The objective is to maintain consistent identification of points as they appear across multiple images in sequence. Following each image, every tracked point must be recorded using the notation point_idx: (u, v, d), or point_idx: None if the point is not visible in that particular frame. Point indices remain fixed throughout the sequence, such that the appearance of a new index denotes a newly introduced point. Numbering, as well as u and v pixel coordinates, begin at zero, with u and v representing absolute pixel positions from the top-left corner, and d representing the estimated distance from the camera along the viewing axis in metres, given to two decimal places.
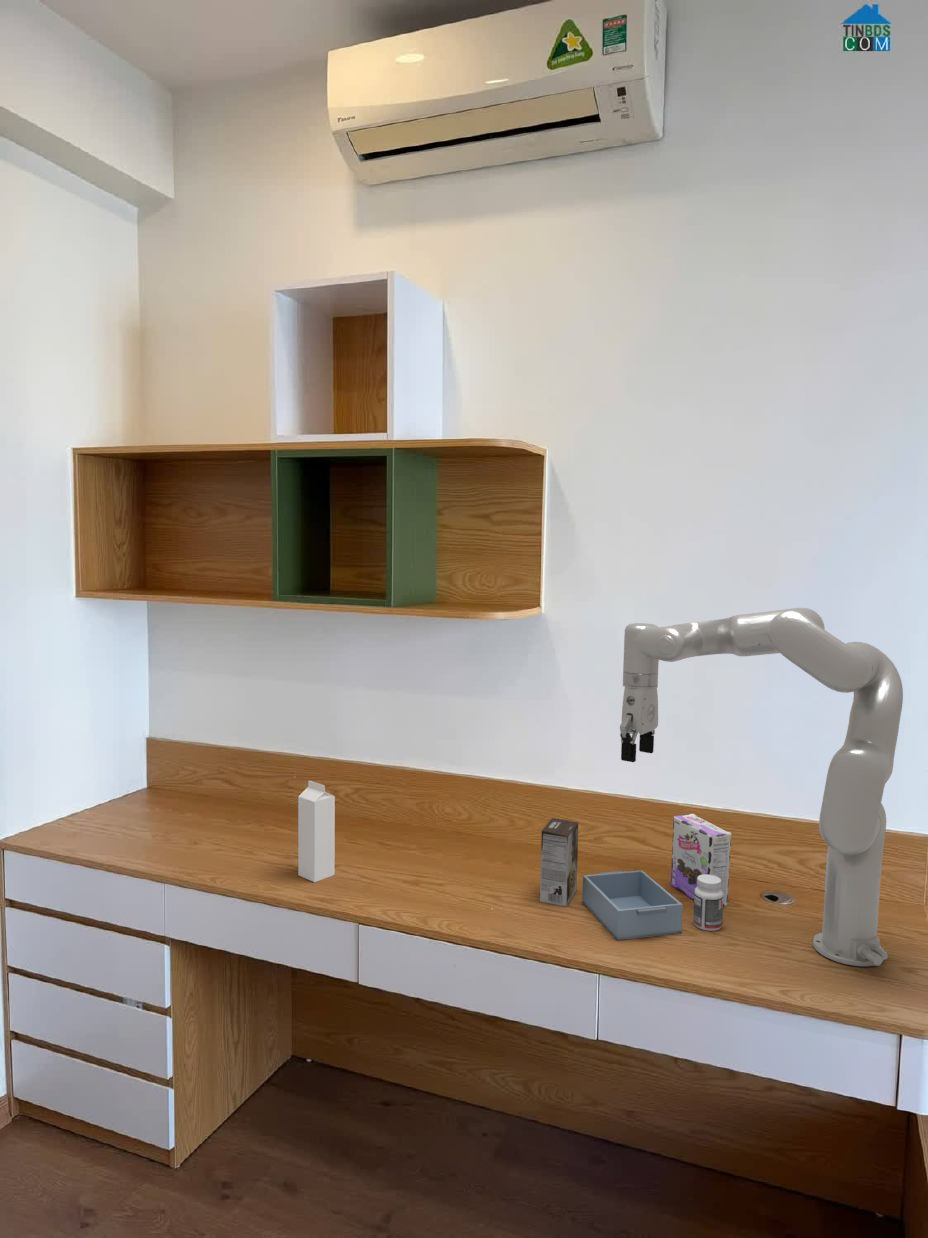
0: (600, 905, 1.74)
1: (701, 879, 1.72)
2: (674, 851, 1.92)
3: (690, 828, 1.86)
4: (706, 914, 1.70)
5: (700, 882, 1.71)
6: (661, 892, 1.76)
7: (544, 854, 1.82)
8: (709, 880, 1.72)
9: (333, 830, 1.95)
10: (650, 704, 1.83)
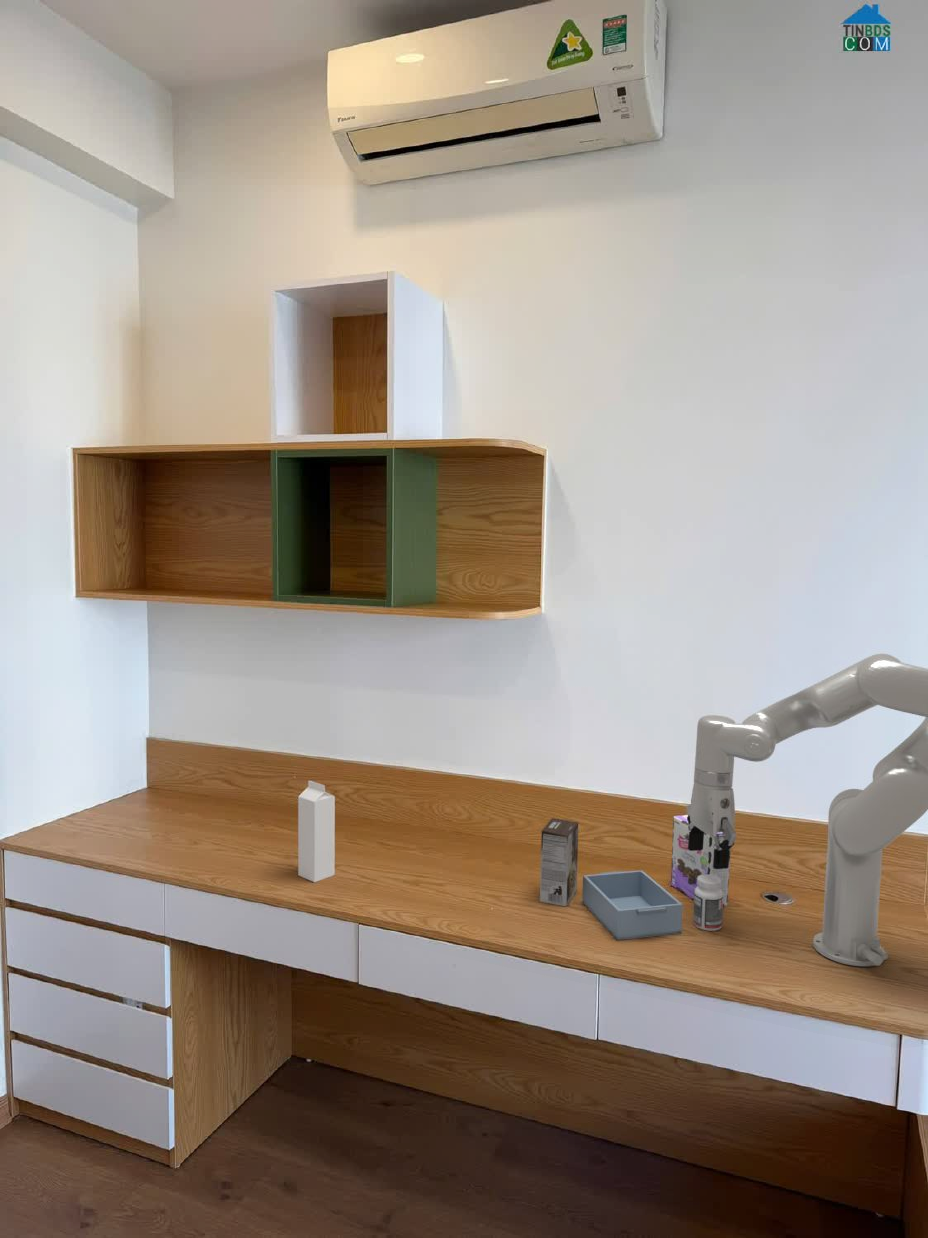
0: (600, 905, 1.74)
1: (701, 879, 1.72)
2: (674, 851, 1.92)
3: None
4: (706, 914, 1.70)
5: (700, 882, 1.71)
6: (661, 892, 1.76)
7: (544, 854, 1.82)
8: (709, 880, 1.72)
9: (333, 830, 1.95)
10: None
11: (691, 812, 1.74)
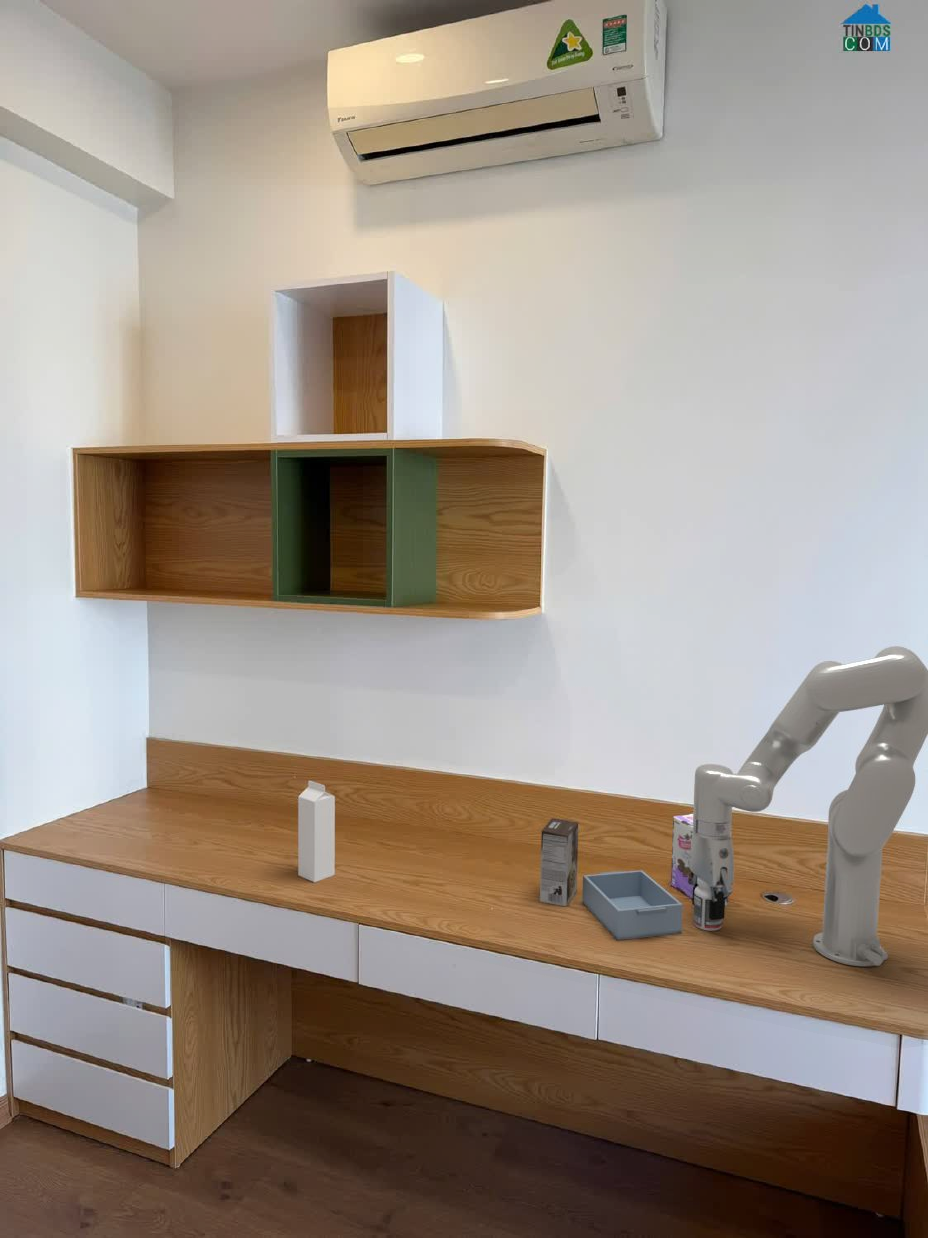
0: (600, 905, 1.74)
1: None
2: (674, 851, 1.92)
3: (690, 828, 1.86)
4: (706, 914, 1.70)
5: (700, 882, 1.71)
6: (661, 892, 1.76)
7: (544, 854, 1.82)
8: None
9: (333, 830, 1.95)
10: None
11: (691, 860, 1.75)
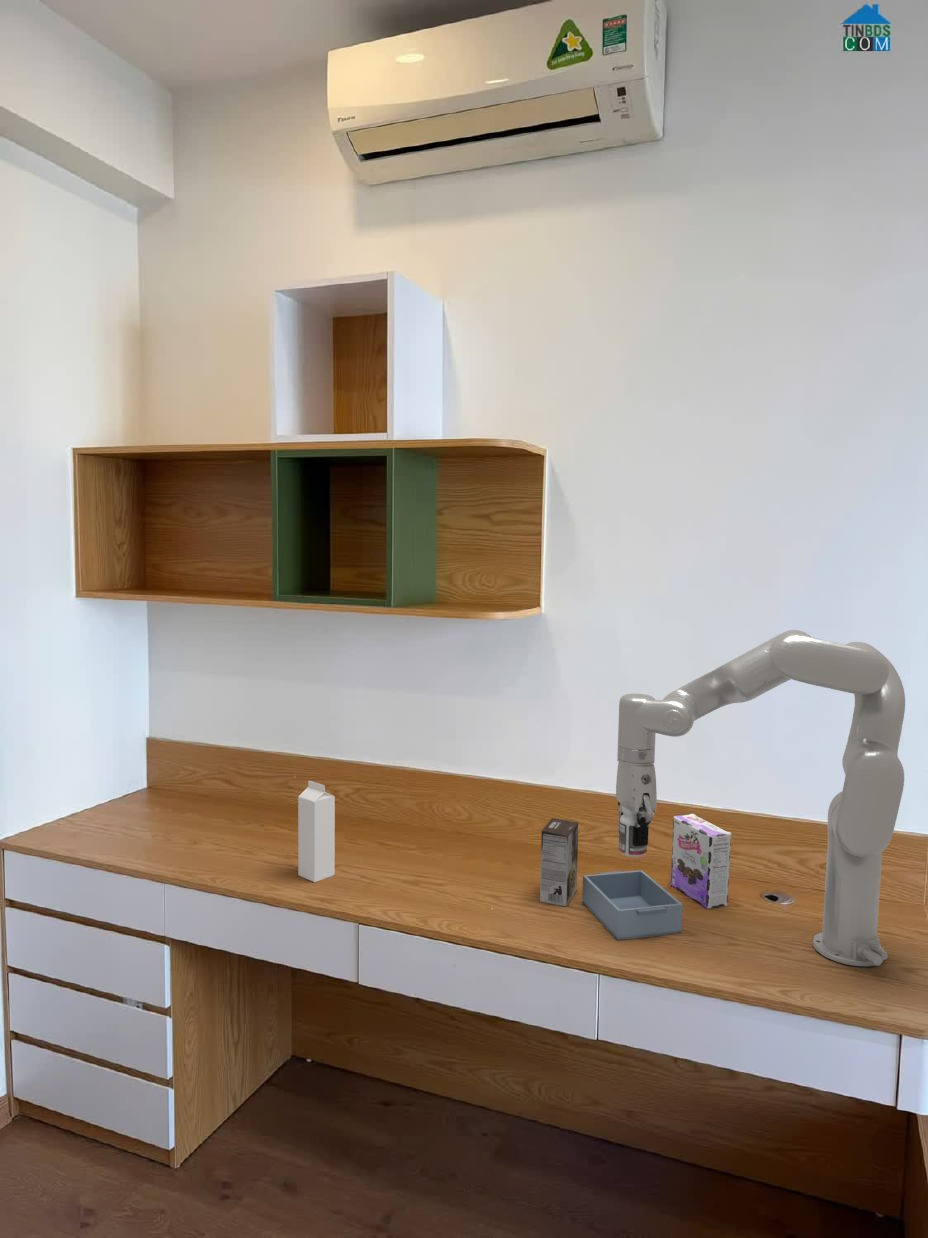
0: (600, 905, 1.74)
1: None
2: (674, 851, 1.92)
3: (690, 828, 1.86)
4: (629, 841, 1.72)
5: (625, 809, 1.73)
6: (661, 892, 1.76)
7: (544, 854, 1.82)
8: None
9: (333, 830, 1.95)
10: None
11: (617, 790, 1.77)
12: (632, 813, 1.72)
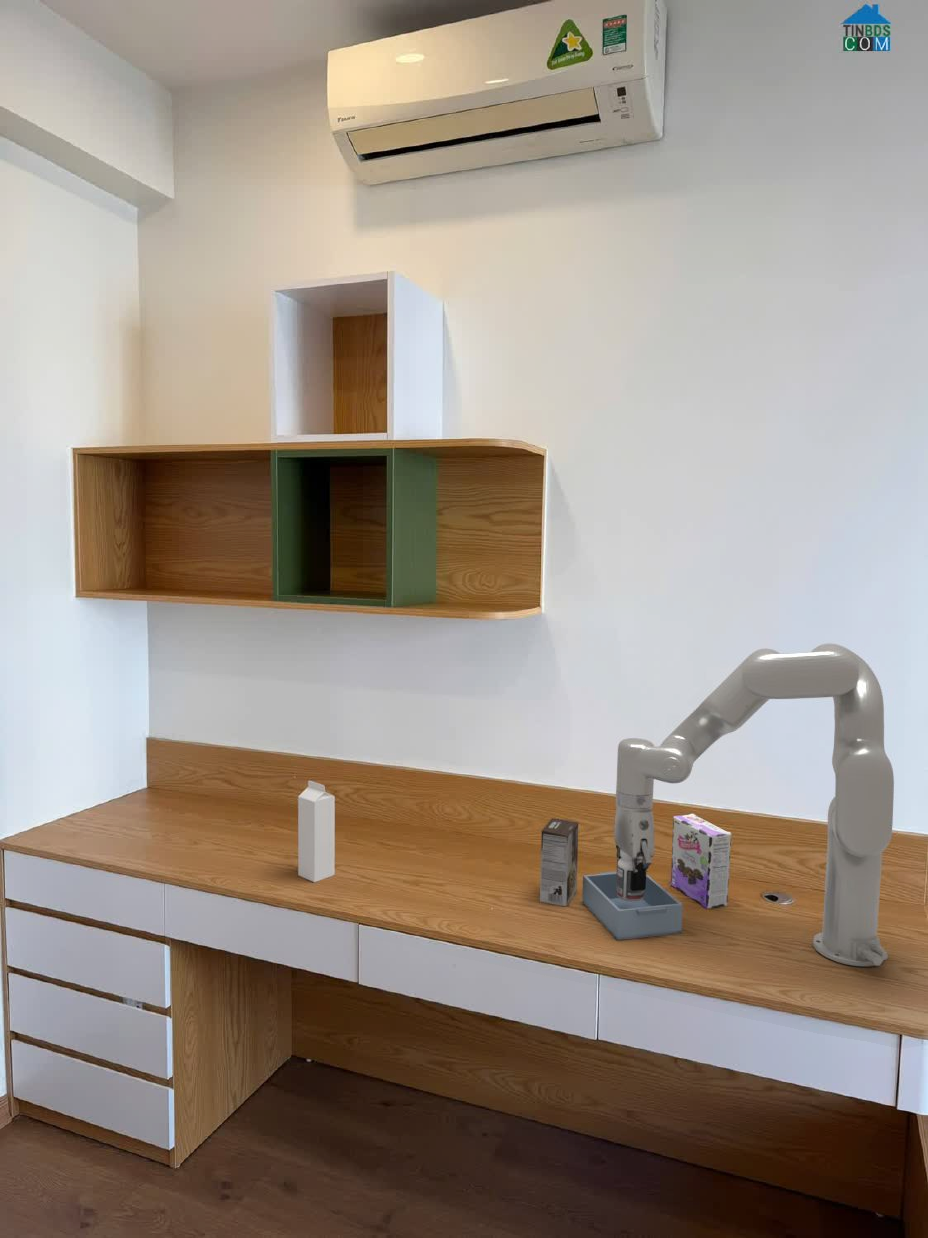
0: (600, 905, 1.74)
1: (623, 851, 1.75)
2: (674, 851, 1.92)
3: (690, 828, 1.86)
4: (627, 885, 1.73)
5: (622, 853, 1.74)
6: (661, 892, 1.76)
7: (544, 854, 1.82)
8: None
9: (333, 830, 1.95)
10: None
11: (615, 833, 1.78)
12: (630, 858, 1.73)
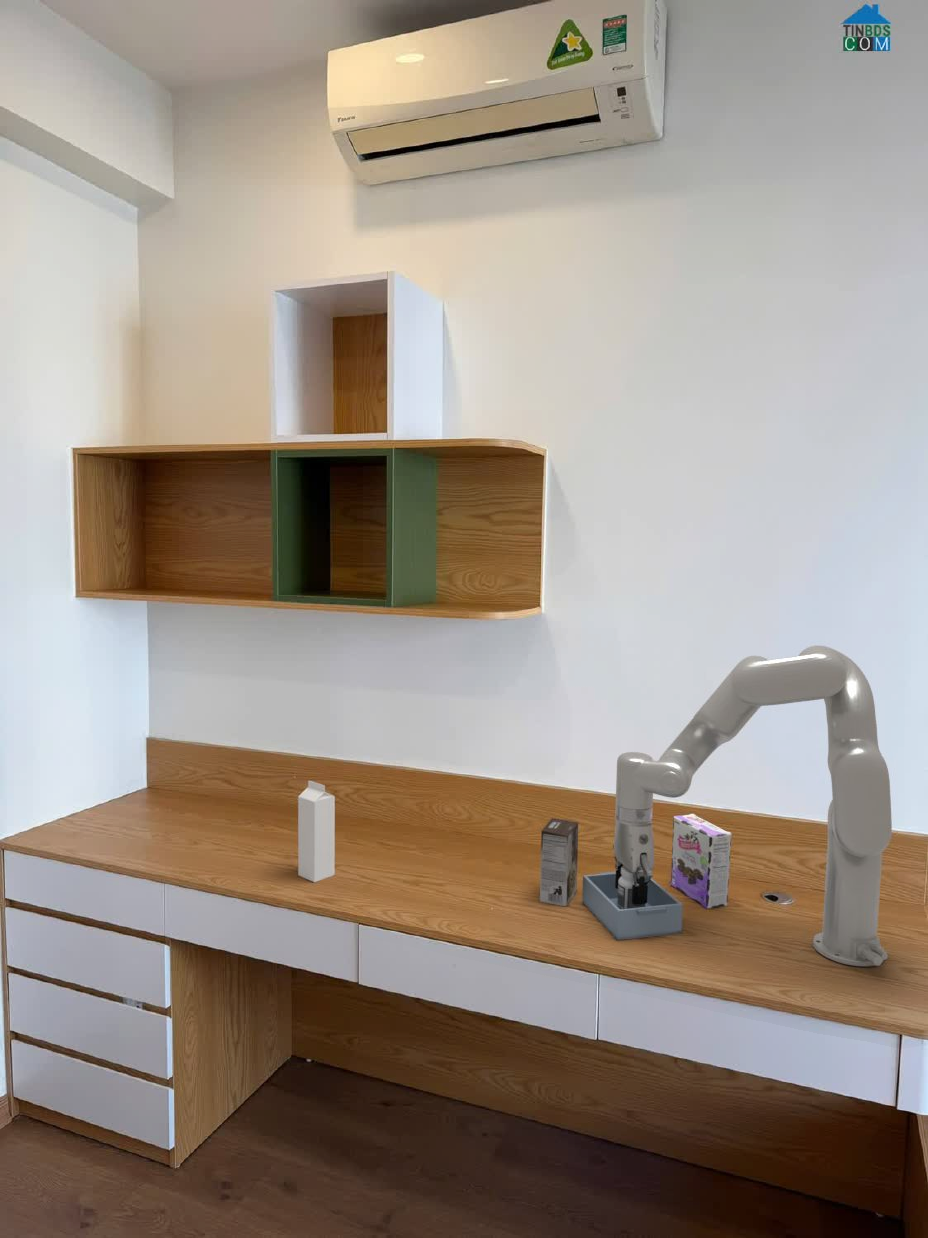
0: (600, 905, 1.74)
1: (624, 869, 1.75)
2: (674, 851, 1.92)
3: (690, 828, 1.86)
4: (628, 903, 1.74)
5: (623, 872, 1.75)
6: (661, 892, 1.76)
7: (544, 854, 1.82)
8: None
9: (333, 830, 1.95)
10: None
11: (615, 847, 1.78)
12: (631, 876, 1.74)
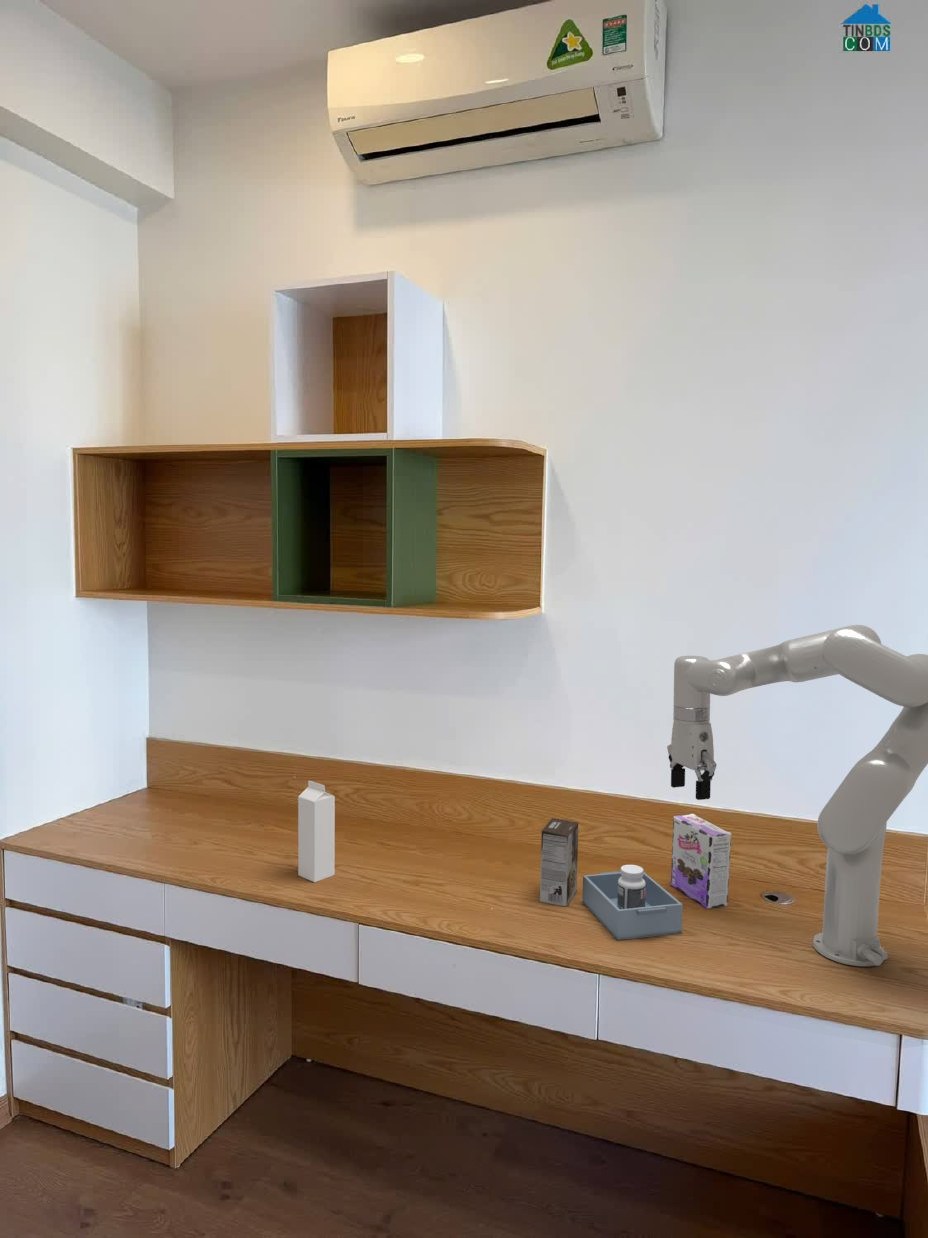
0: (600, 905, 1.74)
1: (624, 869, 1.75)
2: (674, 851, 1.92)
3: (690, 828, 1.86)
4: (628, 904, 1.74)
5: (623, 872, 1.74)
6: (661, 892, 1.76)
7: (544, 854, 1.82)
8: (631, 870, 1.75)
9: (333, 830, 1.95)
10: None
11: (672, 750, 1.83)
12: (630, 876, 1.73)
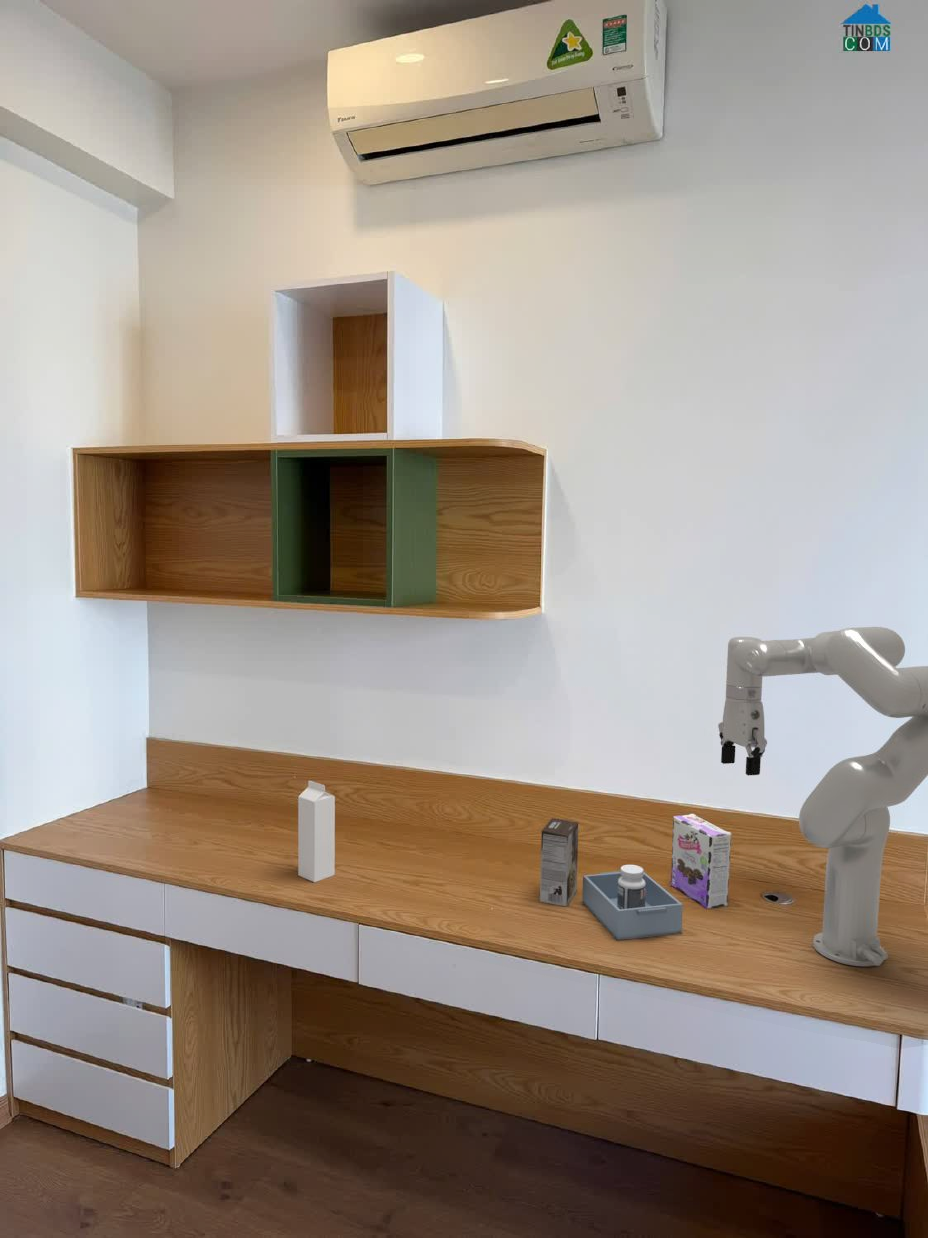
0: (600, 905, 1.74)
1: (624, 869, 1.75)
2: (674, 851, 1.92)
3: (690, 828, 1.86)
4: (628, 904, 1.74)
5: (623, 872, 1.74)
6: (661, 892, 1.76)
7: (544, 854, 1.82)
8: (631, 870, 1.75)
9: (333, 830, 1.95)
10: None
11: (723, 727, 1.90)
12: (630, 876, 1.74)
